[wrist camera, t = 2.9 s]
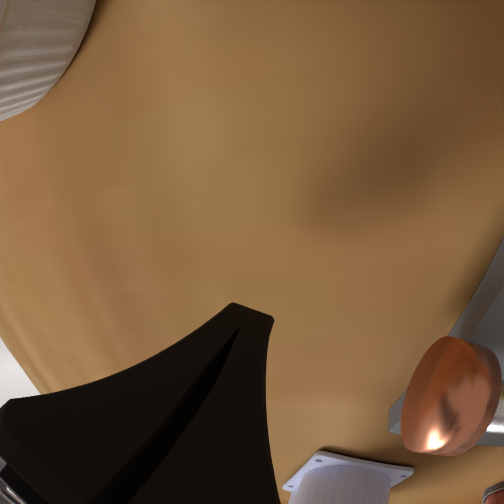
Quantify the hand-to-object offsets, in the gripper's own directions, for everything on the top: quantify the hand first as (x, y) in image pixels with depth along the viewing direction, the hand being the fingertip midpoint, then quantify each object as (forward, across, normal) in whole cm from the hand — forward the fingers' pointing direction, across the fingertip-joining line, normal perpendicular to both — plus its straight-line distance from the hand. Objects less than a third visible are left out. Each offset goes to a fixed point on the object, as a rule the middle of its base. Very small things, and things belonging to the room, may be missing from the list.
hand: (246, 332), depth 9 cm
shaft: (+2, -16, 0) cm, 16 cm away
